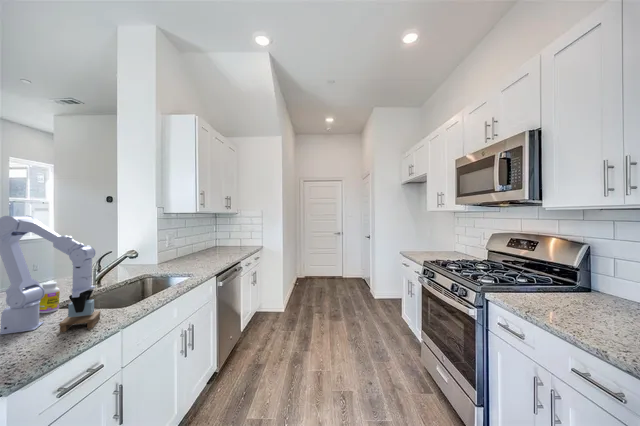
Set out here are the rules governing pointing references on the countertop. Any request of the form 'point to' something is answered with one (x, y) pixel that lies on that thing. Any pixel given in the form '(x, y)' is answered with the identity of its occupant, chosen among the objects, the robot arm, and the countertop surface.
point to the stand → (80, 321)
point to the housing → (87, 310)
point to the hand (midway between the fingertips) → (81, 310)
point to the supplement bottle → (50, 298)
